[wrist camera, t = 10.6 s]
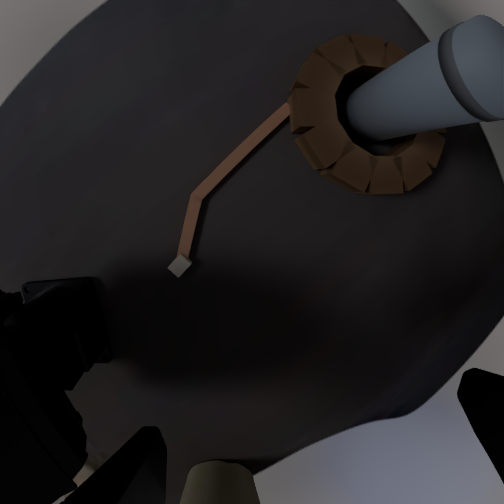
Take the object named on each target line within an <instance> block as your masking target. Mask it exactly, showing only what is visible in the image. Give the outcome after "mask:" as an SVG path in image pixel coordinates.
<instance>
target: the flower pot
mask: <svg viewBox="0 0 504 504" xmlns="http://www.w3.org/2000/svg"><path fill="white" fill-rule="evenodd" d="M180 504H260V501H259V498H258V494H257V491H256V487H255V483H254V480H253V475H252V473H251V472H250V471H249V470H248V469H247V468H246V467H244V466H242V465H240V464H238V463H226V462H223V461H220V460H214V461H207V462H203V463H200V464H197V465H195V466H194V467H193V468H192V469H191V470H190V472H189V474H188V477H187V481H186V484H185V488H184V491H183V494H182V498H181V501H180Z"/></svg>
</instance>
